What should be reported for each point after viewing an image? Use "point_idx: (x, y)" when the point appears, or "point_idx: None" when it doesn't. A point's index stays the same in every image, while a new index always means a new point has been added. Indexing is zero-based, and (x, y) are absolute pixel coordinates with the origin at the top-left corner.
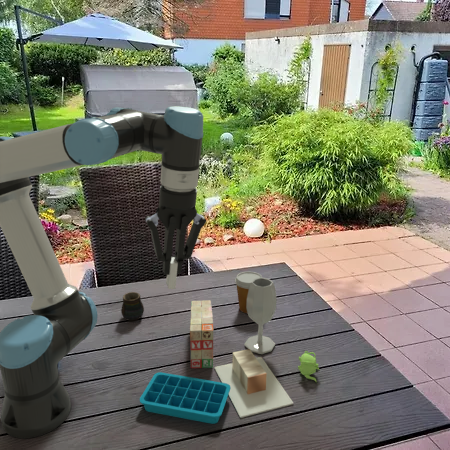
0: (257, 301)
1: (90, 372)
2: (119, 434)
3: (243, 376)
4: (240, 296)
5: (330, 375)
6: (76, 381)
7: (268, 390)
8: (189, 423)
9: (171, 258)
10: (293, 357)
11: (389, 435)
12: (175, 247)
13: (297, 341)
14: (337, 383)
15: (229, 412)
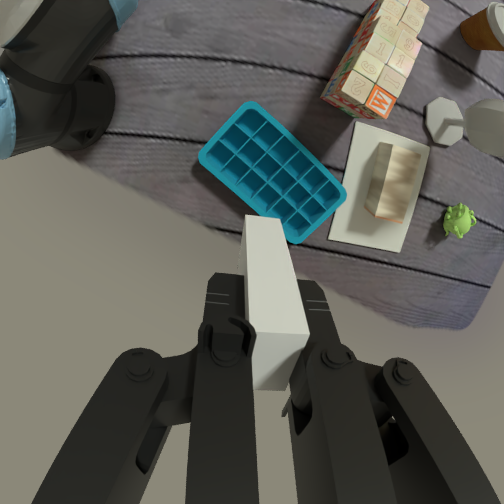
0: (495, 143)
1: (156, 37)
2: (163, 186)
3: (375, 195)
4: (477, 26)
5: None
6: (132, 52)
7: None
8: None
9: (271, 347)
10: (460, 176)
11: (427, 325)
12: (324, 428)
13: None
14: (458, 249)
15: None
